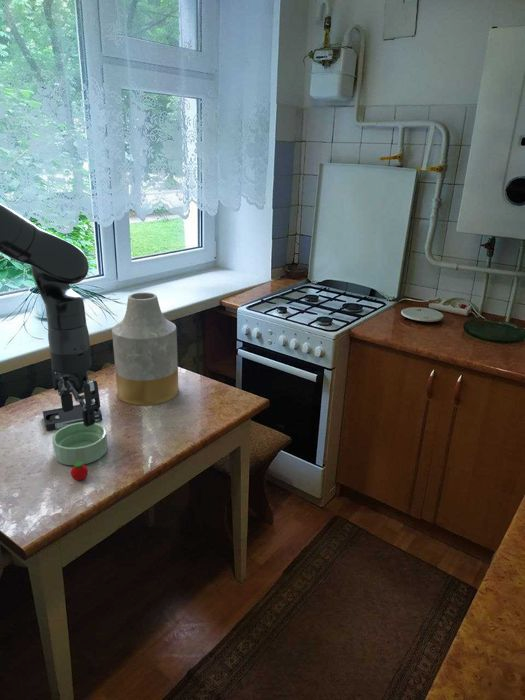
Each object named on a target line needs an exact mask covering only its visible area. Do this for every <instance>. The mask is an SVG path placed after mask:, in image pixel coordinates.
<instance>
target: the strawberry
mask: <svg viewBox="0 0 525 700" xmlns="http://www.w3.org/2000/svg"><path fill="white" fill-rule="evenodd" d="M88 473H89V469H88V467H87V466H86V464H83V463H82V462H76V463H75V464H74V465H73V467H72V468H71V470H70V476H71V478H72V479H74V481H75V480H76V481H82V480H85V478H87V476H88V475H89V474H88Z"/></svg>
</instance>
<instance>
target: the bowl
mask: <svg viewBox="0 0 525 700" xmlns="http://www.w3.org/2000/svg"><path fill="white" fill-rule="evenodd" d="M107 437H108V436H107V429H106V428H105V427H104V425H102V424H100V423H97V422H95V424H93V425H91V426H88V427H86V426H85V425H84V423H83V422H80V423H74V424H71V425H67V426H65V427H63V428H61V429H57V430H56V431H55V432H54V434H53V435H52V437H51V438H52V439H51V443H52V450H53V456H54V458H55V460H56V461H57V462H59V463H60V464H62V465H65V466H74V464H75V463H76V462H82V463H83V465H88V464H90V463H93V462H96V461H98V460H100V459H101V458H102V457H103V456H104V455H106V454H107V451H108V449H109V448H108V447H109V446H108V438H107Z"/></svg>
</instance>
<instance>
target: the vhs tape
mask: <svg viewBox="0 0 525 700" xmlns="http://www.w3.org/2000/svg"><path fill="white" fill-rule="evenodd" d="M84 403H85V402H84ZM85 405H86V403H85ZM73 407H74V408H73V410H71V411H68V412H64V411H63V410H62V407H59V408H53V409H48V410H43V411H42V416H43V421H44V425H45V431H46V432H50V431H51V432H52V431H55V430H56V431H57V430H59V429H61V428H63V427H65V426H67V425H71V424H74V423H80V422H83V414H82V408H81V405H80V404H75V405H73ZM94 415H95V423H97V422H100V421H102V420H103V414H102V411H101V408H97V409H95V410H94Z"/></svg>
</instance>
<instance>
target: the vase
mask: <svg viewBox="0 0 525 700" xmlns="http://www.w3.org/2000/svg"><path fill="white" fill-rule="evenodd" d="M177 332H178V331H177V326H176V324H175V323H174V322H172V321H170V320H168V319H167V318H166V317H165V316H164V315H163V312H162V310H161V306H160V304H159V299H158V296H157V294H156V293H153V292H134V293H131V294H129V295H128V297H127V302H126V310H125V314H124V317H123V319H122V320H121V321H119V322H118V323H116V324H115V325H114V326H113V327H112V329H111V335H112V346H113V347H112V349H113V359H114V369H115V380H116V391H117V392H116V393H117V397H118V399H119V400H120V401H122V402H123V403H125V404H129V405H133V406H142V407H147V406H148V407H149V406H155V405H161V404H164V403H166V402H169V401H171V400H173V399H174V398H175V397H177V395H178V394H179V391H180V390H179V388H180V385H179V363H178V361H179V359H178V335H177Z"/></svg>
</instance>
